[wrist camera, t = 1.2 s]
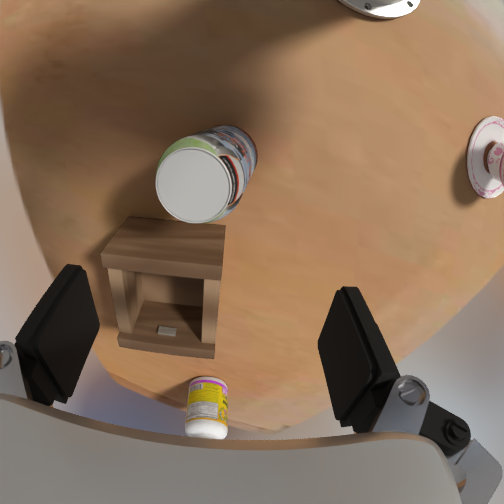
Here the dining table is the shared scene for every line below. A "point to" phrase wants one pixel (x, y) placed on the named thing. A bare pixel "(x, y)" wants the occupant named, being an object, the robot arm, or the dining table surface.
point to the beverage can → (206, 173)
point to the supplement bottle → (207, 408)
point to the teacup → (499, 157)
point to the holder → (166, 285)
